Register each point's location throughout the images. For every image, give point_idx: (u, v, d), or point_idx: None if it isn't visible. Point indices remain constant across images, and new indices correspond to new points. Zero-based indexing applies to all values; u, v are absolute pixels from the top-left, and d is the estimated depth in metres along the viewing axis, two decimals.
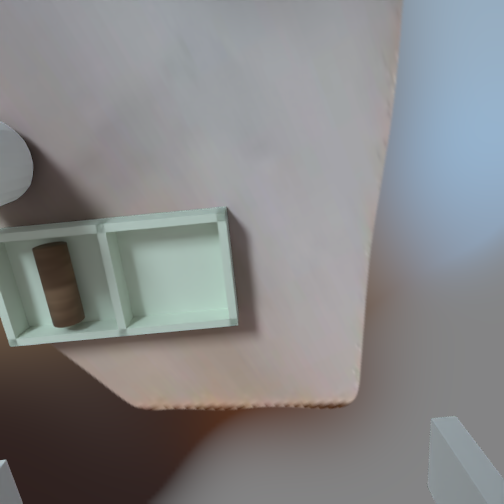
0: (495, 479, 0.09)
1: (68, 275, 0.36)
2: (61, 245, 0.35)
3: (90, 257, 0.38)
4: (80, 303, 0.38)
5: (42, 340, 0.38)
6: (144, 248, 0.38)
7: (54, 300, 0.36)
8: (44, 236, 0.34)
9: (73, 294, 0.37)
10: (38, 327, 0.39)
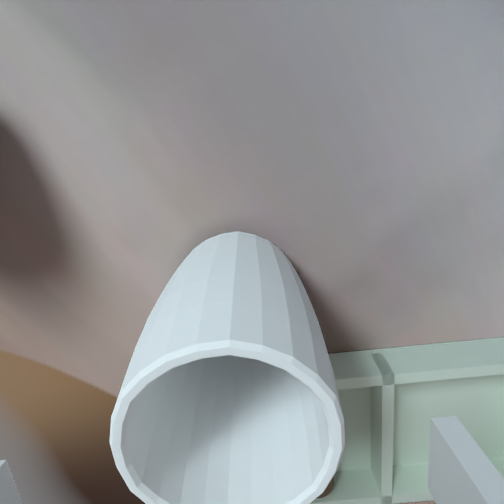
0: (495, 479, 0.09)
1: None
2: None
3: (340, 399, 0.28)
4: None
5: None
6: (414, 387, 0.28)
7: None
8: None
9: None
10: None
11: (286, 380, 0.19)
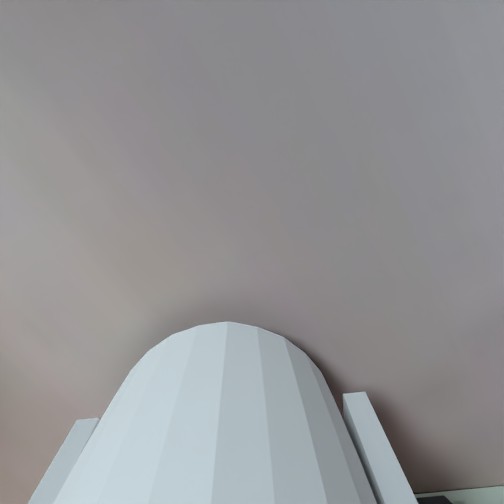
0: (381, 442, 0.10)
1: None
2: None
3: None
4: None
5: None
6: None
7: None
8: None
9: None
10: None
11: None
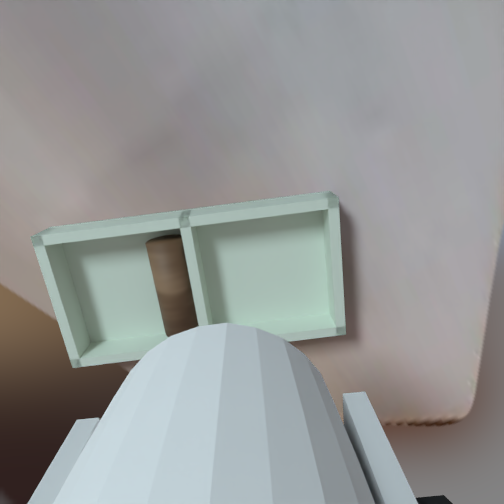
0: (381, 441, 0.10)
1: None
2: (157, 237, 0.30)
3: None
4: None
5: (111, 359, 0.31)
6: (229, 244, 0.31)
7: None
8: (115, 234, 0.28)
9: None
10: (102, 343, 0.33)
11: None
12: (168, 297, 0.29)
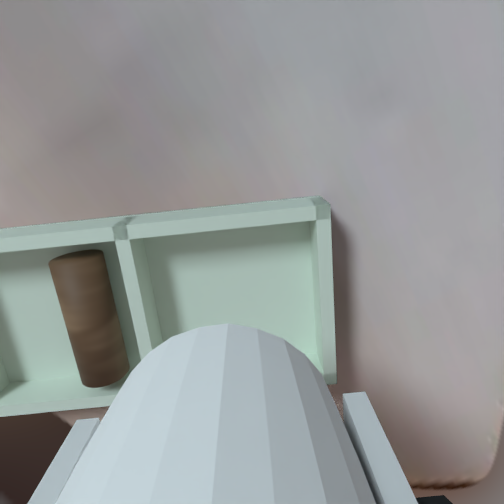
0: (381, 441, 0.10)
1: None
2: (89, 250, 0.23)
3: None
4: None
5: (28, 409, 0.24)
6: (187, 262, 0.24)
7: (119, 331, 0.23)
8: (27, 246, 0.21)
9: None
10: (23, 384, 0.26)
11: None
12: (67, 330, 0.22)
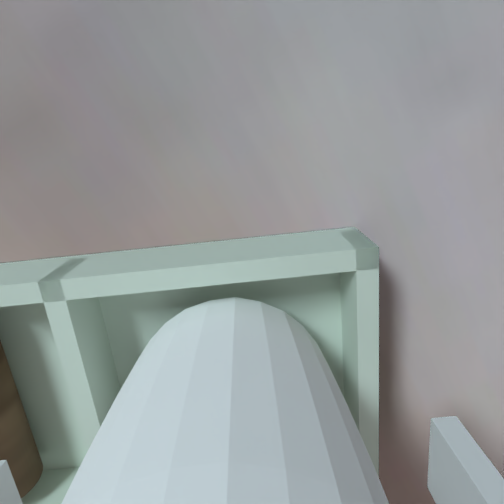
0: (495, 479, 0.09)
1: (5, 386, 0.15)
2: None
3: (40, 344, 0.17)
4: (32, 439, 0.17)
5: None
6: (162, 322, 0.16)
7: None
8: None
9: (19, 426, 0.16)
10: None
11: None
12: None
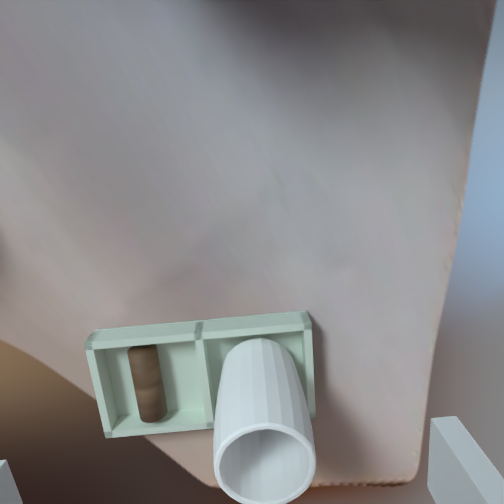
0: (495, 479, 0.09)
1: (153, 378, 0.39)
2: (150, 352, 0.38)
3: (180, 355, 0.41)
4: (163, 402, 0.40)
5: (135, 432, 0.41)
6: (230, 346, 0.41)
7: (140, 399, 0.39)
8: (147, 343, 0.38)
9: (156, 395, 0.39)
10: (128, 417, 0.43)
11: None
12: None
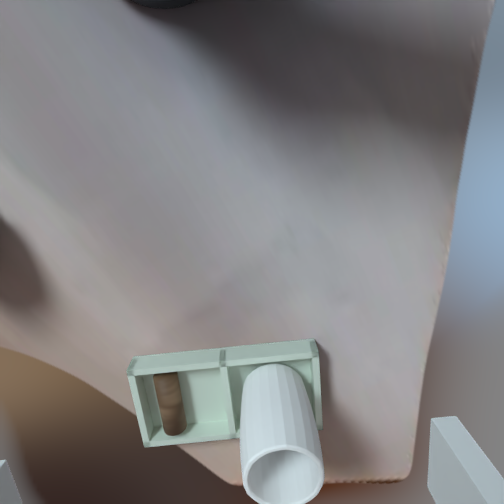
0: (495, 479, 0.09)
1: (166, 402, 0.46)
2: (164, 381, 0.45)
3: (206, 377, 0.48)
4: (176, 423, 0.47)
5: (169, 442, 0.48)
6: (249, 369, 0.48)
7: (160, 412, 0.47)
8: (179, 369, 0.45)
9: (169, 416, 0.46)
10: (161, 428, 0.50)
11: None
12: None
